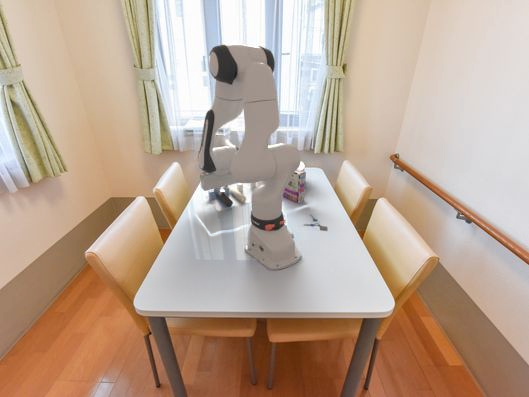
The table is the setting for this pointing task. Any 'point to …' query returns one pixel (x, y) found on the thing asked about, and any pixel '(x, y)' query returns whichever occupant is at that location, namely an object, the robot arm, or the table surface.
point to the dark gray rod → (223, 198)
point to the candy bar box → (295, 186)
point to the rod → (237, 194)
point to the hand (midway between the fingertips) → (222, 193)
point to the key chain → (318, 225)
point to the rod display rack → (232, 197)
